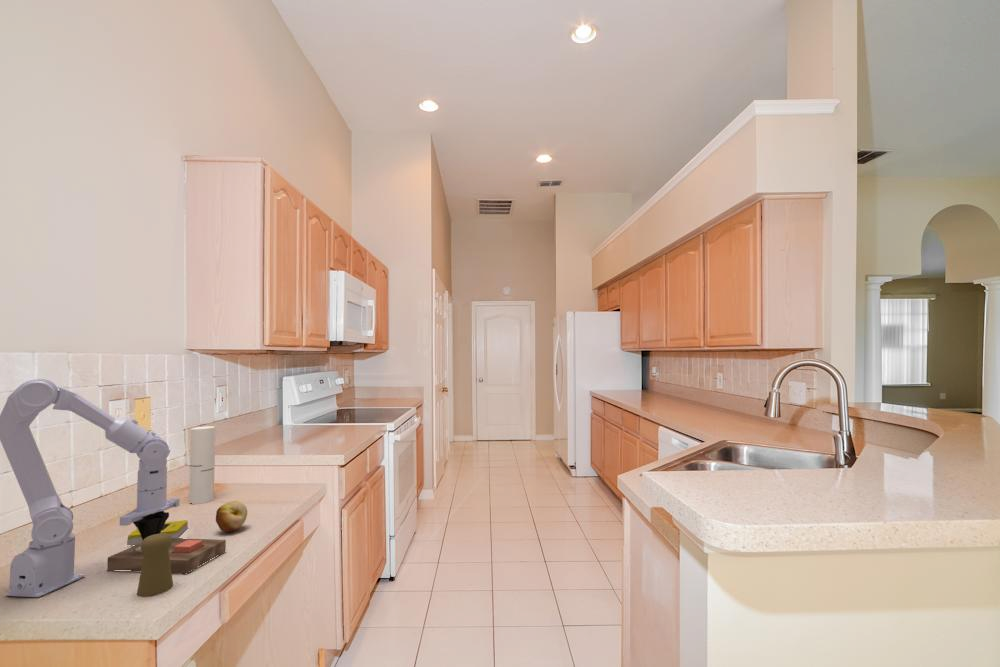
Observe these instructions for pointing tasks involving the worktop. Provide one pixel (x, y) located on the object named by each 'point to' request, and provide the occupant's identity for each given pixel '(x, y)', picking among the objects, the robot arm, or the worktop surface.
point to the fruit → (231, 516)
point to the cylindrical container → (202, 465)
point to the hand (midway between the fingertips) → (150, 546)
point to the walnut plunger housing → (177, 560)
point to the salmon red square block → (188, 546)
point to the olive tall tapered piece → (155, 566)
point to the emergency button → (170, 528)
